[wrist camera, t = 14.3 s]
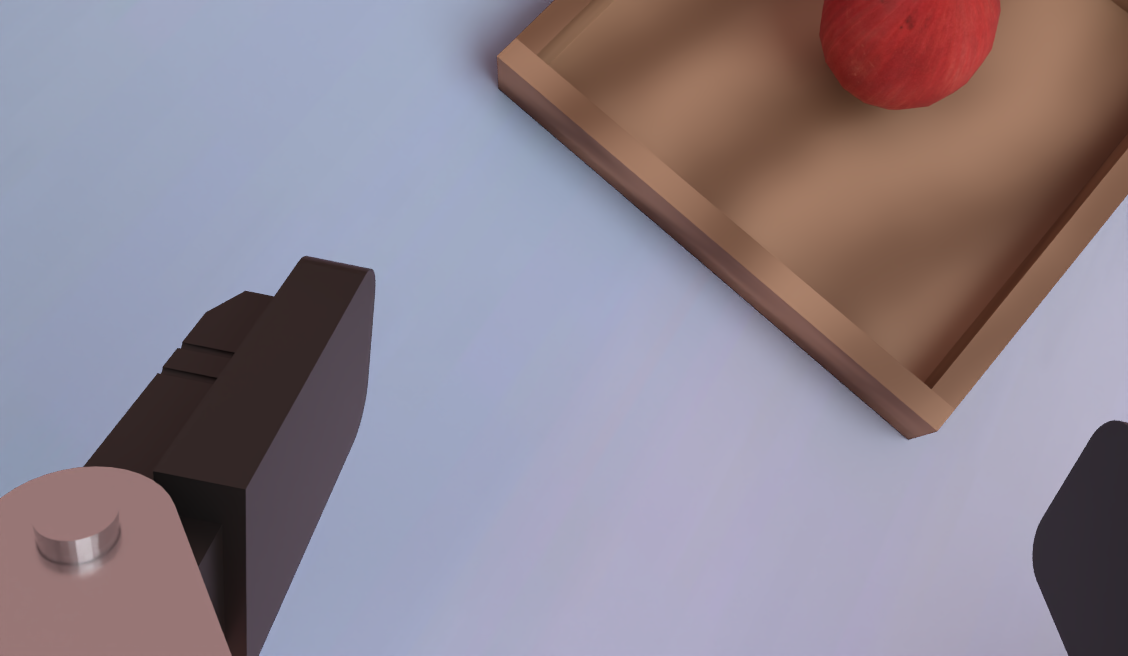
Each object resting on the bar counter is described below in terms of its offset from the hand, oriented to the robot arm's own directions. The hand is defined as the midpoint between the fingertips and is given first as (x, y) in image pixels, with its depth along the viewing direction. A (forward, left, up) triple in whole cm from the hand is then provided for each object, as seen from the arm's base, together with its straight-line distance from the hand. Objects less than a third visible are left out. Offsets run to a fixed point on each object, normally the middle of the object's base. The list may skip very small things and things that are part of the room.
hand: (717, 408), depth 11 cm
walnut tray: (-3, +20, -24) cm, 31 cm away
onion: (-3, +19, -23) cm, 30 cm away
